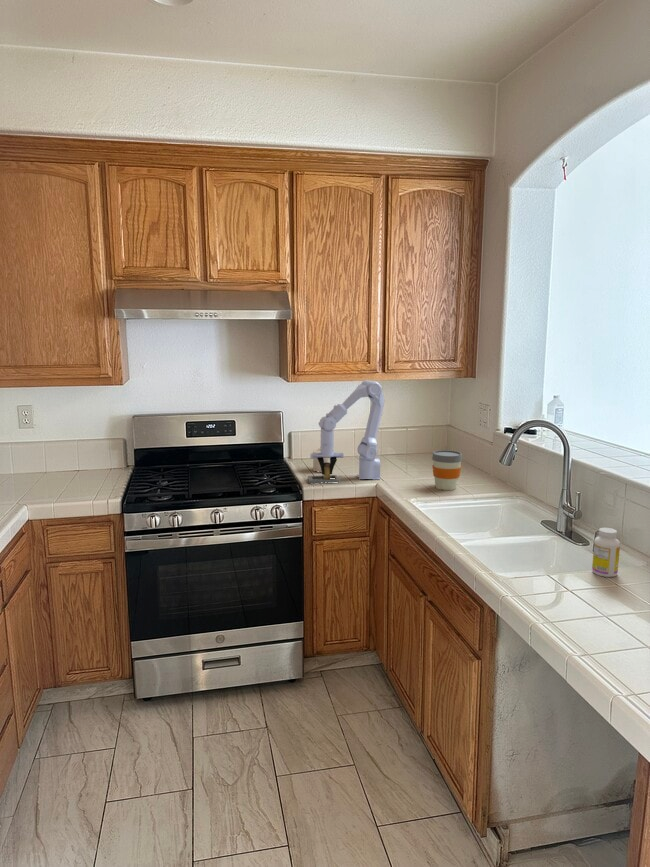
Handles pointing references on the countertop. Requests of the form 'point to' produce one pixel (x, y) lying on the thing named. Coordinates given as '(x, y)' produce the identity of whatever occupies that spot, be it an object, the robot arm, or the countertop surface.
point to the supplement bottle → (606, 553)
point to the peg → (326, 470)
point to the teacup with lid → (316, 463)
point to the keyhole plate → (320, 479)
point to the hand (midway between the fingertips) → (326, 473)
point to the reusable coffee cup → (446, 468)
